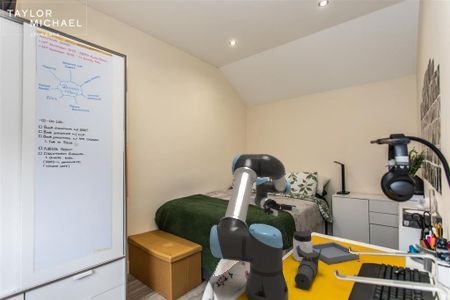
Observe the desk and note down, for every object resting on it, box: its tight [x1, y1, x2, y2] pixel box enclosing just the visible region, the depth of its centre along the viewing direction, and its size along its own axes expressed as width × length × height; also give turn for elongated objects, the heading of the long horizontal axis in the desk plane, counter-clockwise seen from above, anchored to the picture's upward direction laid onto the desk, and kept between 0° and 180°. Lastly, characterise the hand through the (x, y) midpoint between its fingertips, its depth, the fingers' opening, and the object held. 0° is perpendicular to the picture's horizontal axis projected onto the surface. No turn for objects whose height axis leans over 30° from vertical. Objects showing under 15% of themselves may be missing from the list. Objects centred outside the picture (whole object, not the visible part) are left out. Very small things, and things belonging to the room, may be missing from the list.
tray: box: [312, 241, 360, 266], centre depth 116 cm, size 18×16×3 cm
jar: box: [292, 230, 313, 263], centre depth 112 cm, size 9×8×12 cm
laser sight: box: [294, 245, 322, 290], centre depth 96 cm, size 10×22×10 cm, turn 151°
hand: (288, 212), depth 124 cm, fingers open, 13 cm apart
